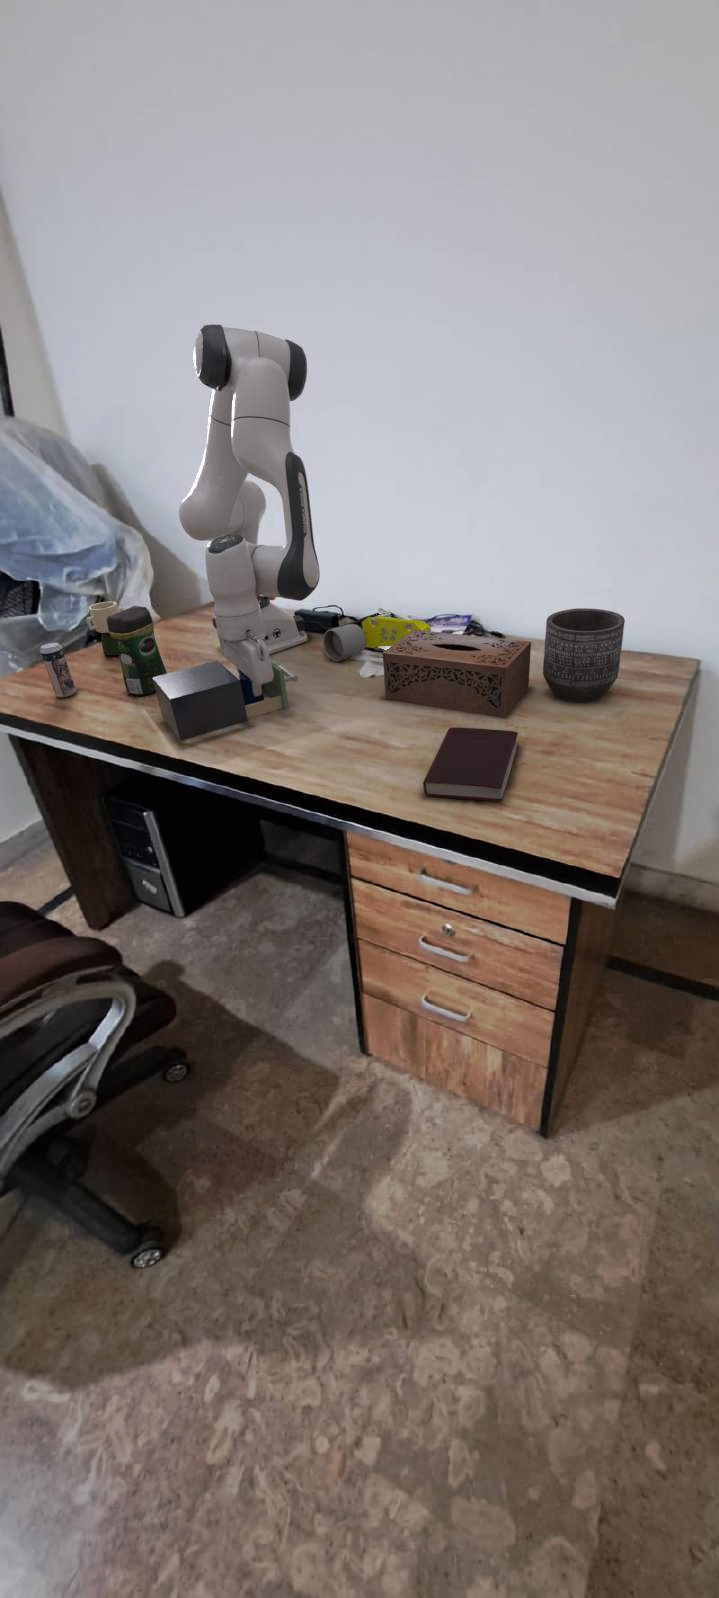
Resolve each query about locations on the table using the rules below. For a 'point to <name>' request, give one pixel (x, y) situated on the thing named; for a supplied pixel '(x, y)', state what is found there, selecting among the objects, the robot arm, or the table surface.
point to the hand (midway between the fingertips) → (252, 690)
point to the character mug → (103, 624)
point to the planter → (582, 653)
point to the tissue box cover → (457, 671)
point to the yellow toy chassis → (389, 630)
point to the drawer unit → (200, 699)
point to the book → (472, 764)
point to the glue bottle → (249, 690)
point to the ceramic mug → (344, 641)
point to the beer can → (58, 669)
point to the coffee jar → (136, 649)
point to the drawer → (273, 692)
